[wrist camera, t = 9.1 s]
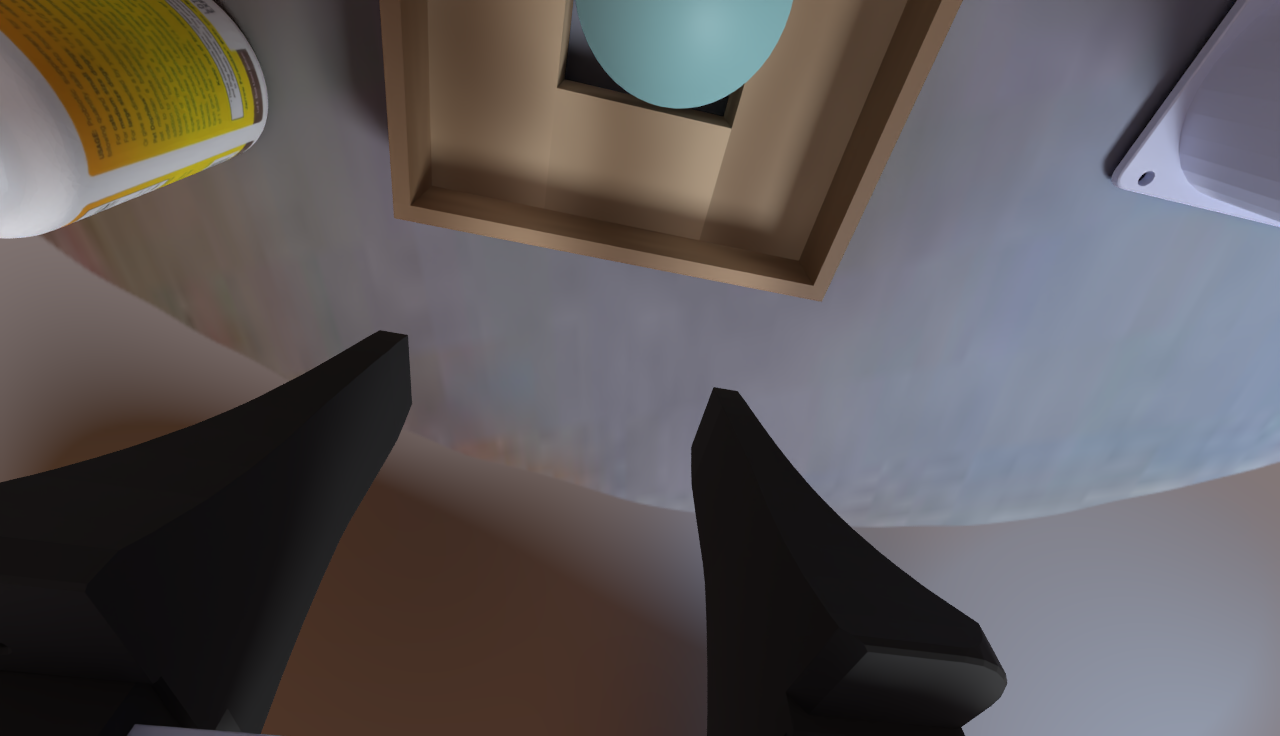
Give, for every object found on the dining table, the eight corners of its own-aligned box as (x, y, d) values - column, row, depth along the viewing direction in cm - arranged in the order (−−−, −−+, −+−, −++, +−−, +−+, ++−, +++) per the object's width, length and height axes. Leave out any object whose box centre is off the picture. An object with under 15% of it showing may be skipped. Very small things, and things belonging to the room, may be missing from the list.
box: (1006, -268, 13) (1130, -357, 10) (793, 253, 21) (821, 301, 18) (423, -472, 11) (333, -664, 8) (435, 180, 19) (394, 217, 16)
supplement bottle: (118, -92, 15) (-549, -199, 7) (306, 70, 17) (-9, 141, 9) (65, 65, 17) (-479, 133, 9) (237, 188, 19) (-64, 334, 11)
